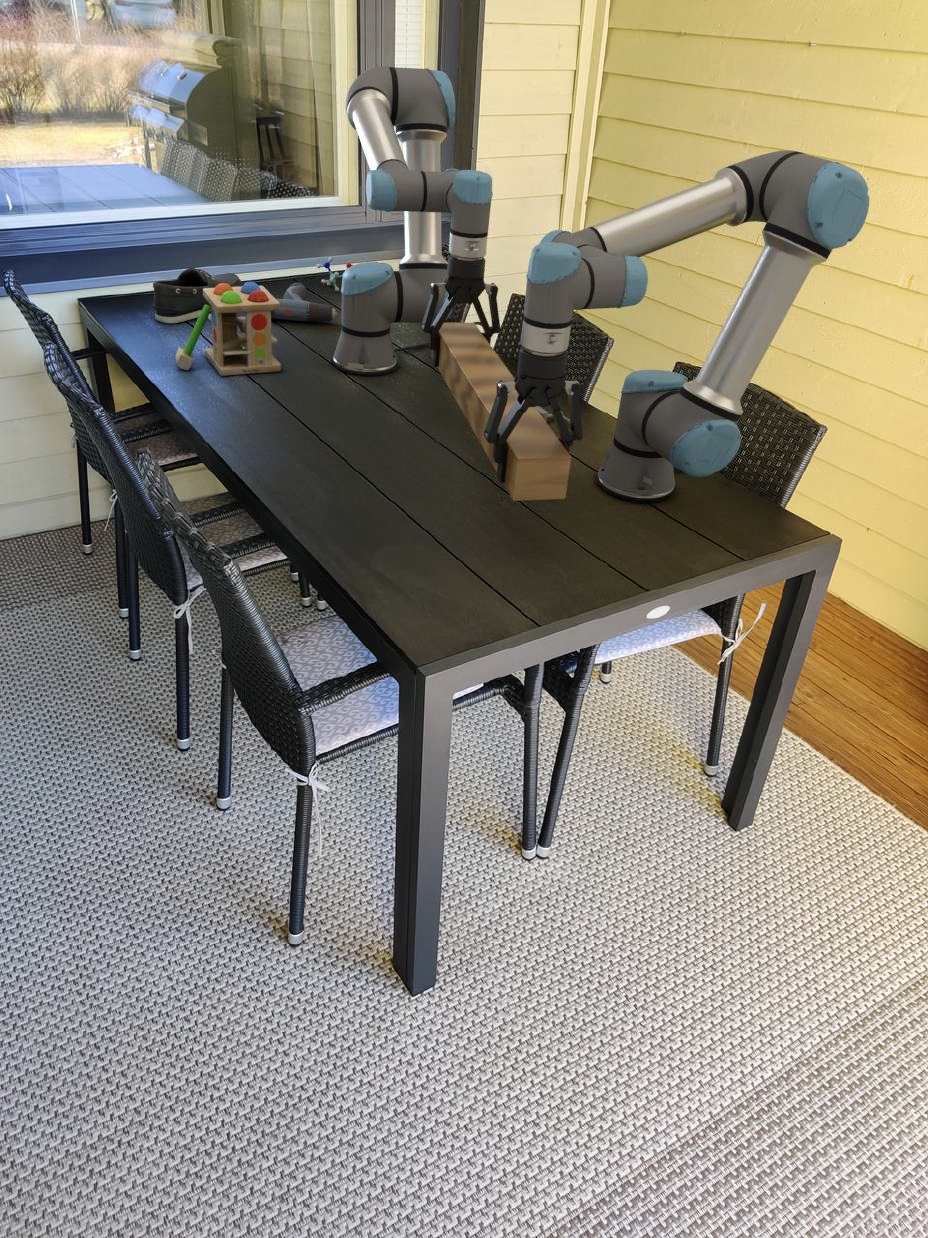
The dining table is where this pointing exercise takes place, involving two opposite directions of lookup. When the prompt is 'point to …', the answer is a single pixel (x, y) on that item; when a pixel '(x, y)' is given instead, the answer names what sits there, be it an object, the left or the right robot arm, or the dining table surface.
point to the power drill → (301, 307)
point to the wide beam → (532, 443)
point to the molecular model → (332, 276)
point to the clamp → (546, 415)
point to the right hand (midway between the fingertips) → (528, 478)
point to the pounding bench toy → (229, 347)
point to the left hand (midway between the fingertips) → (458, 364)
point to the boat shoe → (186, 294)
